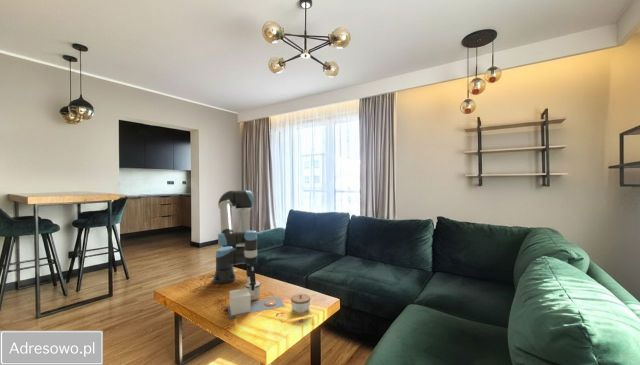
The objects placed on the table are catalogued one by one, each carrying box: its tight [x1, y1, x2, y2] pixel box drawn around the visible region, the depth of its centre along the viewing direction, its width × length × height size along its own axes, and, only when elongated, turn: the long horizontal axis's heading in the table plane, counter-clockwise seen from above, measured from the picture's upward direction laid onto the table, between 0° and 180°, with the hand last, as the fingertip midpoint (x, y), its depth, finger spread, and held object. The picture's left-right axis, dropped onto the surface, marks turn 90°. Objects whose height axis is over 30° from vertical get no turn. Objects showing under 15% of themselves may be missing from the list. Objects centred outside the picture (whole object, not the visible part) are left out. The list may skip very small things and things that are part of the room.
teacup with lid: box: [241, 280, 261, 301], centre depth 161 cm, size 12×9×12 cm
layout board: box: [227, 296, 286, 320], centre depth 149 cm, size 13×30×1 cm, turn 113°
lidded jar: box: [290, 293, 311, 314], centre depth 146 cm, size 11×11×9 cm
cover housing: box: [229, 288, 252, 315], centre depth 145 cm, size 10×10×9 cm
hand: (250, 291), depth 161 cm, fingers open, 13 cm apart
